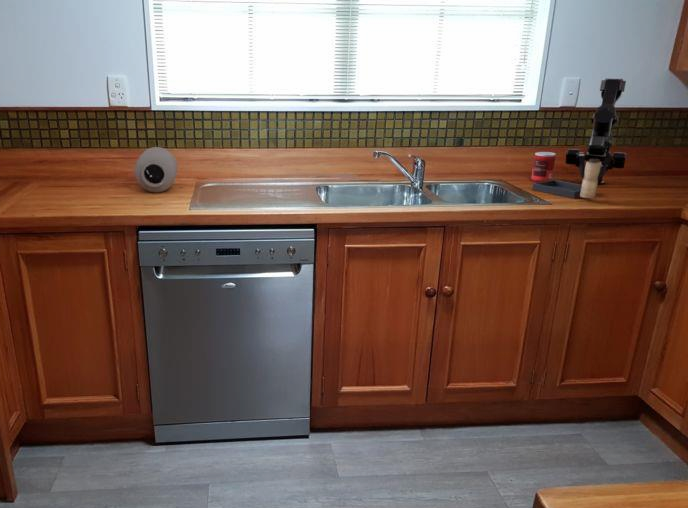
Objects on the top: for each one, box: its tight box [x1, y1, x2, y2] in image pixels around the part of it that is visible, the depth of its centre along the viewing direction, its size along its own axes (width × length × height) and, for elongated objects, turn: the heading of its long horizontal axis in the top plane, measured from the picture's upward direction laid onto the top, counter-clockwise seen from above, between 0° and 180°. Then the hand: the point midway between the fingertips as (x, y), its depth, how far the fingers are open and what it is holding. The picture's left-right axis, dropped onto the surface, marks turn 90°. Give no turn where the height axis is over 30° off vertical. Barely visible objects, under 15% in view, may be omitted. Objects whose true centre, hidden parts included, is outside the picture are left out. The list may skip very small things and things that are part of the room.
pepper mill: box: [579, 158, 602, 199], centre depth 210 cm, size 5×5×13 cm
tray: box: [531, 179, 582, 199], centre depth 226 cm, size 13×17×2 cm
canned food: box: [531, 151, 557, 183], centre depth 243 cm, size 8×8×11 cm
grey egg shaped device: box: [133, 146, 178, 194], centre depth 222 cm, size 19×15×25 cm
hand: (590, 178), depth 209 cm, fingers closed on pepper mill, 5 cm apart
